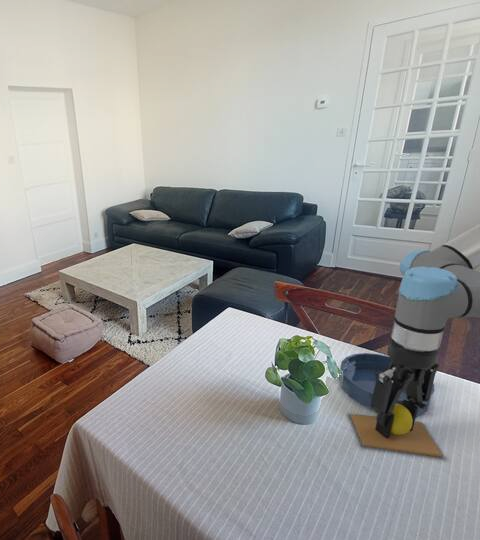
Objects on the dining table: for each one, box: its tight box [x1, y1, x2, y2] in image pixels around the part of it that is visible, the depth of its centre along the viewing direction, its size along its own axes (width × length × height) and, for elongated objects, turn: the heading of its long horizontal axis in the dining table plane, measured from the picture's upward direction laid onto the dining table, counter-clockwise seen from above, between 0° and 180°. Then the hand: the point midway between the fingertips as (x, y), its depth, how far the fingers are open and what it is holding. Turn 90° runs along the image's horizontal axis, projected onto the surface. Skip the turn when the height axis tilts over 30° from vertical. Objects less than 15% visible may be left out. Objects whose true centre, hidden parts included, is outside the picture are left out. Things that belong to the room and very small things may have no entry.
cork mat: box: [350, 413, 443, 458], centre depth 76 cm, size 14×9×1 cm, turn 73°
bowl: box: [338, 352, 436, 417], centre depth 88 cm, size 19×19×5 cm
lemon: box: [390, 403, 413, 435], centre depth 75 cm, size 6×6×8 cm
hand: (393, 429), depth 76 cm, fingers closed on lemon, 5 cm apart
